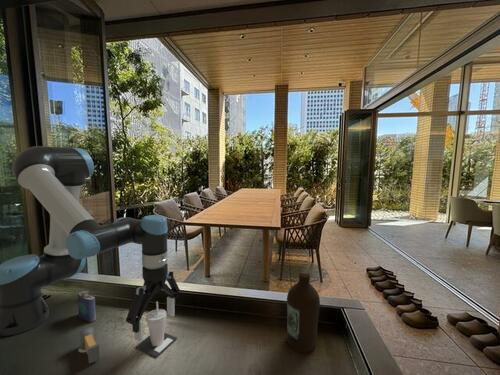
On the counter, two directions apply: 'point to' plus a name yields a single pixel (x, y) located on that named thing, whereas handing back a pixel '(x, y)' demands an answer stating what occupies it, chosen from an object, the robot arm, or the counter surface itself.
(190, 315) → the counter surface
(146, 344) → the pad
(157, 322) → the smoothie
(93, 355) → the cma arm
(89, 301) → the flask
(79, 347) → the base
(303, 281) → the olive oil
